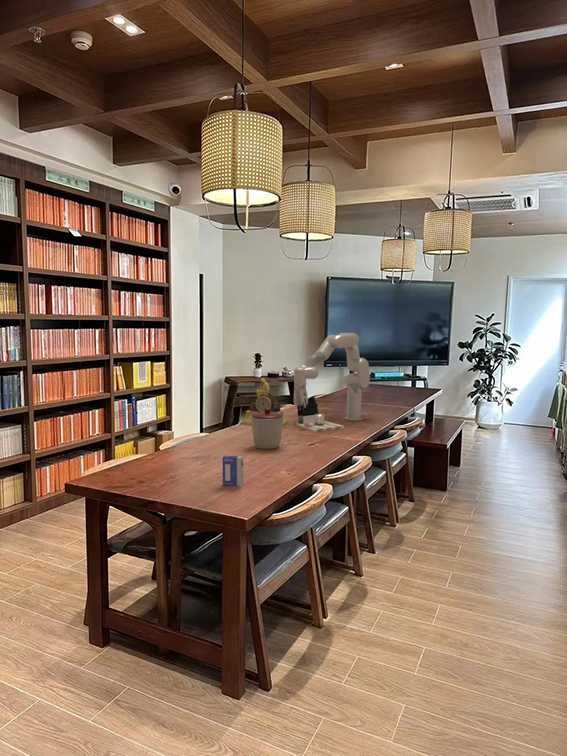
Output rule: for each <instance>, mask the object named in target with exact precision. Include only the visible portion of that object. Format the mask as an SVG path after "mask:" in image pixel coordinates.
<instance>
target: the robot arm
mask: <svg viewBox="0 0 567 756" xmlns="http://www.w3.org/2000/svg"><path fill="white" fill-rule="evenodd" d="M359 342H360V337H359V335H358V334H357V333H355V332H339V334H330V335H327V337H326V338H325V339H324V340H323V342H322V343H321V345H320V346H319V348H318V349H317V351H315V352H314V353H312V355H310V356H309V357H308V358H306V360H305V361H304V362H303V363H302V365H301V367H296V368H294V369H293V383H294V384H293V403H294V405H295V406H296V409H297V416H298V417H302V416H303V410H304V408H305V407H306V405H308V398H309V397H308V390H307V379H310V380H314V379H316V378H318V376H319V370H318V369H317V368H316V365H318V364H320V363H323V362H324V361H327V360H328V359H329V357H330V356H331V355H332V353H333V352H334V350H335V349H345V352H346V365H347V369H348V370H349V371H350V372H351V373H349V374H348V375H347V376H346V379H345V383H346V390H347V391H346V393H347V396H346V399H347V401H346V416H344V420H345V421H351V422H352V421H353V422H355V421H356V422H359V421H363V420H364V417H366V416H367V413H366V412H362V389H363V390H364V389H366V388H368V387H369V386H370V382H371V381H370V376H371V375H370V364H369V361H368V360H367V359H366V358H365V357H360V349H359V346H358V344H359ZM363 416H364V417H363Z"/></svg>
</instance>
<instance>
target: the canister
mask: <svg viewBox="0 0 567 756" xmlns="http://www.w3.org/2000/svg"><path fill="white" fill-rule="evenodd" d="M270 411H271V409H270V408H265V409H264V412H258V413H254V414H253V415H251V416H250V418H251V421H252V426H251V429H252V430H251V431H252V437H253V443H254V446H255V448H257V449H261V450H273V449H277V448H279V447H280V444H281V441H282V433H283V428H282V426H283V419H284V417H285V415H284V416H283V415H282V414H280V413H277V412H270ZM285 418H286V417H285Z"/></svg>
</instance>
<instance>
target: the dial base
mask: <svg viewBox="0 0 567 756" xmlns="http://www.w3.org/2000/svg"><path fill="white" fill-rule="evenodd" d="M294 426H295V427H298V428H301V429H305V430H307V431H310V432H314V433H319V432H325V431H335V430H341V429H345V426H344V425H342V424H338V423H334V422H330V421H327V420H324V425H316V424H315V422H311V423H304V424H299V422H295V424H294Z"/></svg>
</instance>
